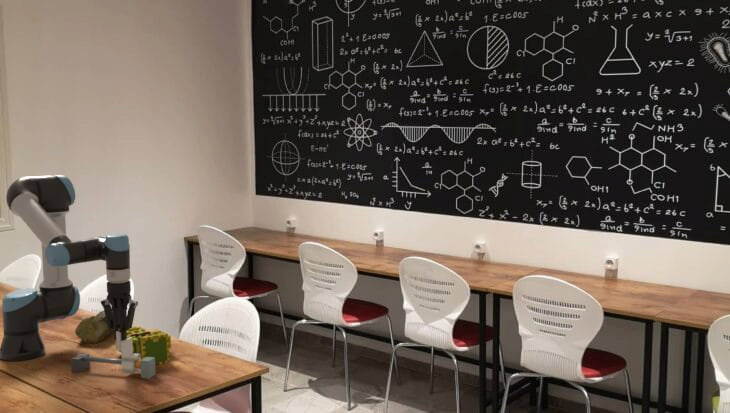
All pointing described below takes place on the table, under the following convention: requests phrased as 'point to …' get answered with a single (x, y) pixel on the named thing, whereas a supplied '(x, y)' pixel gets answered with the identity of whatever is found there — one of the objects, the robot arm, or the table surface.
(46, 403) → the table surface
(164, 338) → the toy
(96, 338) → the stone
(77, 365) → the rail
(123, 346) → the cream l-shaped block
